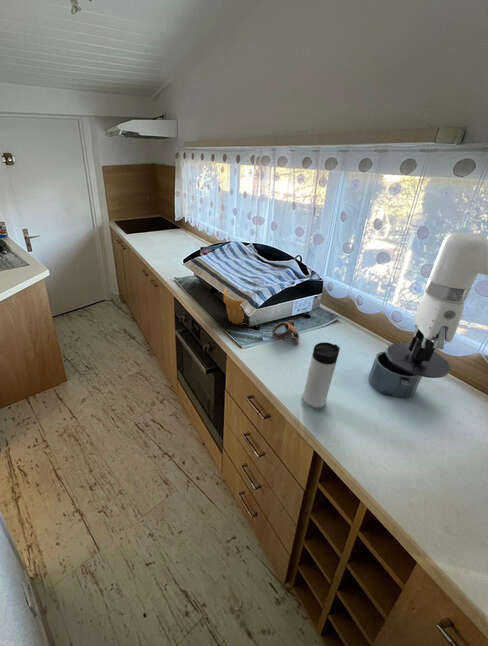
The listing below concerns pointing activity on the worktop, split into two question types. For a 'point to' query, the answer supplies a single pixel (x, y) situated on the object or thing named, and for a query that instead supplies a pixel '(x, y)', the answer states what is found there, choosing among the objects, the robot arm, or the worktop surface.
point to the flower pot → (234, 309)
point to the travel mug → (320, 374)
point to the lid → (406, 360)
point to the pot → (392, 378)
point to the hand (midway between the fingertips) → (418, 354)
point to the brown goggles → (289, 330)
